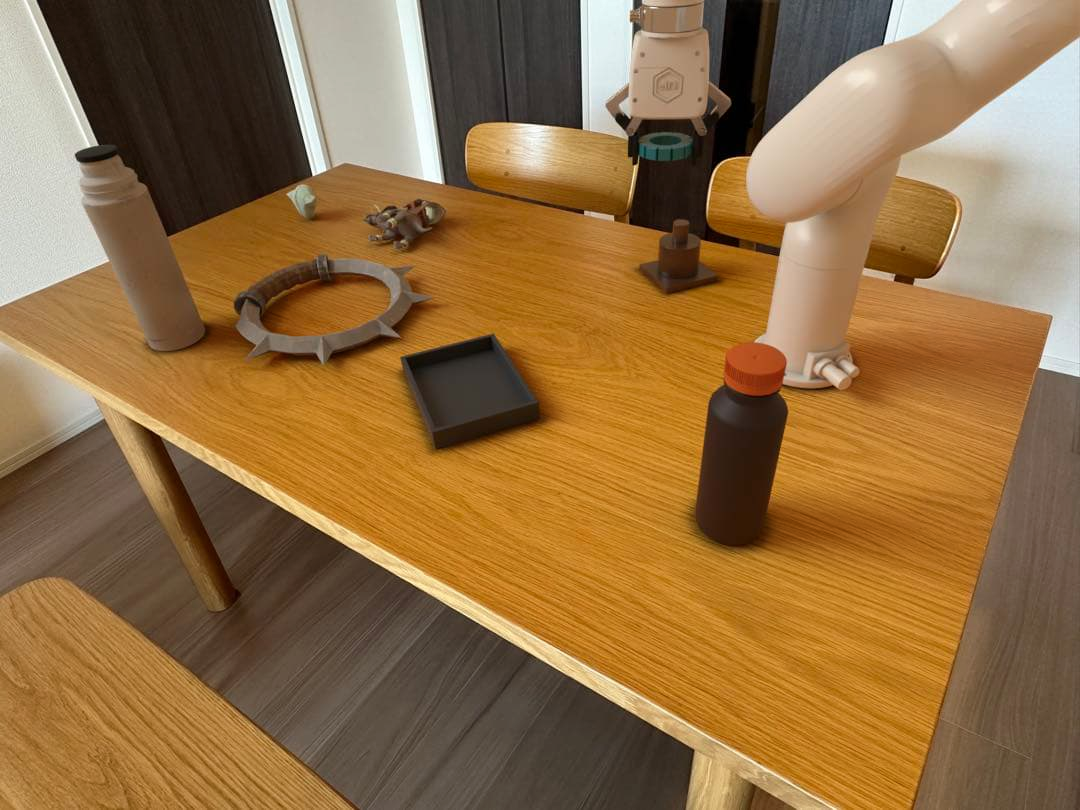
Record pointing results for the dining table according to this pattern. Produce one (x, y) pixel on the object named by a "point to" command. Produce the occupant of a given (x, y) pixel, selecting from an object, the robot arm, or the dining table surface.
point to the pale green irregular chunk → (304, 200)
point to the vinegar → (742, 445)
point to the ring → (665, 146)
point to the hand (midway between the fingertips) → (664, 161)
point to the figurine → (405, 221)
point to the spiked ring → (261, 292)
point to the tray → (468, 390)
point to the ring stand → (678, 261)
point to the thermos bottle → (138, 249)
